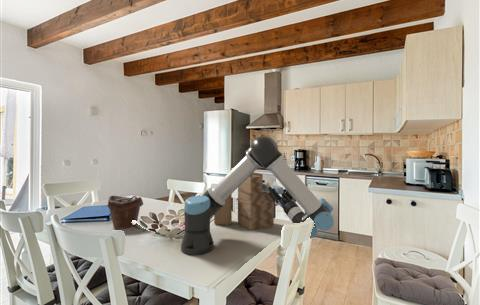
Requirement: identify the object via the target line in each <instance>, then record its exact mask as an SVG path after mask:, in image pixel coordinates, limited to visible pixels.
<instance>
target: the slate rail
mask: <svg viewBox="0 0 480 305" xmlns="http://www.w3.org/2000/svg"><path fill="white" fill-rule="evenodd" d="M267 183H268V182H267ZM267 183H266V182H263V191H267V192H270V191H269V189H268V187H267ZM271 185H272V186H273V188H274V190H275V191H276V192H277V193H278V194H279V195H281V194H283V189H284V186H280V185H278V186H275V185H273V184H271Z"/></svg>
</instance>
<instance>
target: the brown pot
mask: <svg viewBox="0 0 480 305" xmlns="http://www.w3.org/2000/svg"><path fill="white" fill-rule="evenodd" d="M143 205H144V201H143V199H142V197H141V196H139V197H137V196H136V195H133V196H132V197H127V196H117V195H110V196H109V197H108V200H107V208H108V210H109V214H110V217H111V222H112V226H113V228H116V229H126V228H132V227H135V226H136V225H132V223H131V222H132V220H136V221H137V222H138V220H139V218H138V217H139V213H140V209H141V207H142V206H143Z"/></svg>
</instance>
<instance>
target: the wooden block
mask: <svg viewBox="0 0 480 305" xmlns="http://www.w3.org/2000/svg"><path fill="white" fill-rule="evenodd" d="M232 194H233V193H232ZM232 194H231V195H230V196H229V197H228V198H227V199H226V200H225V205H224V206H223V207H222V208H221V209H220V210H219V211H218V212H217V213H216V214H215V215H213V219H214V220H213V221H214V222H213V223H214V225H215V226H230V225H231V223H232V220H233V218H232V217H233V216H232V215H233V214H232V212H233V211H232V208H233V206H232V204H233V201H232V199H233V198H232V197H233V196H232Z"/></svg>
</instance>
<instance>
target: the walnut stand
mask: <svg viewBox="0 0 480 305" xmlns="http://www.w3.org/2000/svg"><path fill="white" fill-rule="evenodd" d="M263 177H264V176H263V173H258V172H255V171H254V172H253V173H252V174H251V175H250V176H249V177H248V178H247V179H246V180H245V181H244V182H243V183H242V184H241V185H240V186H239V187H238V188H237V223H238V224H240V225H242V226H243V227H245V228H247V229H248V230H250V231H254V230H259V229H265V228H269V227H274V226H275V224H274V223H275V221H274V220H275V203H274V202H273V200H272V199H271V197H270V196H269V192H268V191H265V190H263V183H264V182H263V180H264V179H263Z"/></svg>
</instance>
